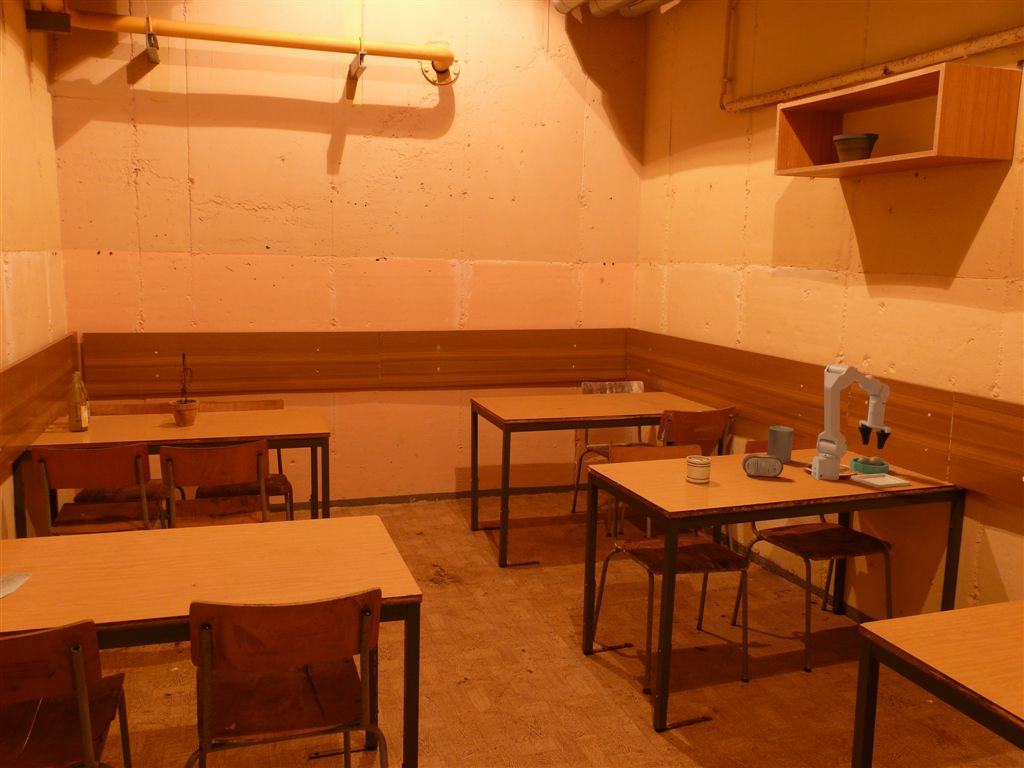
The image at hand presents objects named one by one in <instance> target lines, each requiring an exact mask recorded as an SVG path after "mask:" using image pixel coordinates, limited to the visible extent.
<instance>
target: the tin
mask: <svg viewBox="0 0 1024 768" xmlns="http://www.w3.org/2000/svg"><path fill="white" fill-rule="evenodd" d="M741 462H742V463H741V465H742V467H741V468H742V470H743V471H744V472H745V474H747V475H748V476H750V477H758V478H759V477H760V478H777V477H780V475H781V474H782V473H783V470H784V463H782V461H781V459H780V458H779V457H777V456H774V455H767V454H759V453H758V454H757V453H751V454H748V455H747V456H745V457H744V459H743V460H742V461H741Z"/></svg>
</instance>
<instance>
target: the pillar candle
mask: <svg viewBox="0 0 1024 768" xmlns="http://www.w3.org/2000/svg"><path fill="white" fill-rule="evenodd" d="M794 430H795V429H794V428H792V427H789V426H783V424H781V425H771V426H769V429H768V441H767V450H766V455H774V456H777V457H779V458H780V459H781V461H782V463H783V464H789V463H791V461H792V450H793V449H792V448H793V441H794Z"/></svg>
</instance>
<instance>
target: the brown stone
mask: <svg viewBox="0 0 1024 768" xmlns="http://www.w3.org/2000/svg"><path fill="white" fill-rule="evenodd" d="M869 458H870V459H869V460H870V466H881V464H882V461H883V460H882V459H881V458H880V457H878V456H871V457H869ZM881 460H882V461H881Z"/></svg>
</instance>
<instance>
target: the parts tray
mask: <svg viewBox="0 0 1024 768" xmlns="http://www.w3.org/2000/svg"><path fill="white" fill-rule="evenodd" d="M850 479H852V480H854V481H857V482H860V483H863V484H865V485H867V486H870V487H873V488H875V489H879V488H889V487H890V488H891V487H893V488H894V487H903V486H905V487H906V486H911V481H909V480H905V479H902V478H900V477H899V478H898V477H896V476H893V475H890V474H884V473H882V474H858V475H850Z"/></svg>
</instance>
